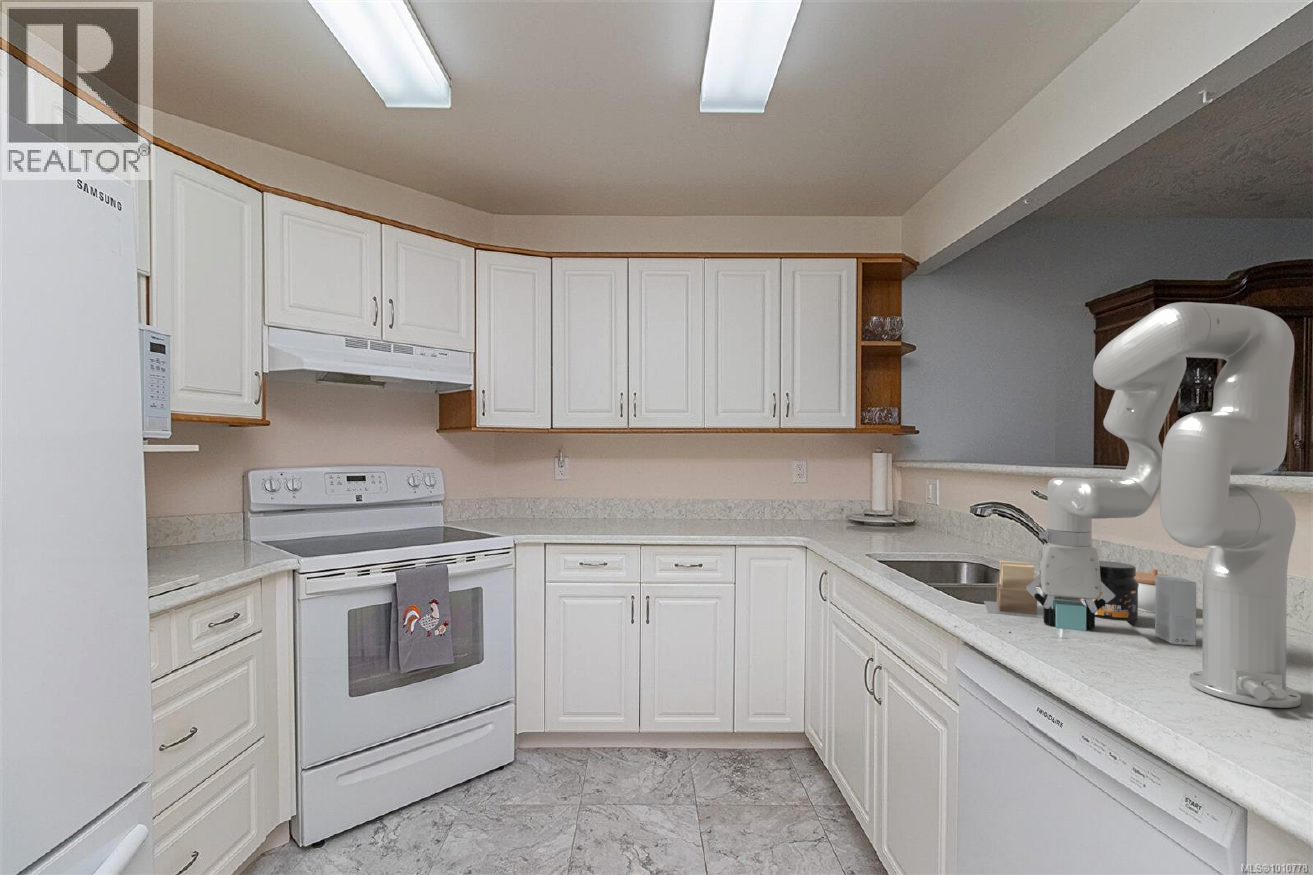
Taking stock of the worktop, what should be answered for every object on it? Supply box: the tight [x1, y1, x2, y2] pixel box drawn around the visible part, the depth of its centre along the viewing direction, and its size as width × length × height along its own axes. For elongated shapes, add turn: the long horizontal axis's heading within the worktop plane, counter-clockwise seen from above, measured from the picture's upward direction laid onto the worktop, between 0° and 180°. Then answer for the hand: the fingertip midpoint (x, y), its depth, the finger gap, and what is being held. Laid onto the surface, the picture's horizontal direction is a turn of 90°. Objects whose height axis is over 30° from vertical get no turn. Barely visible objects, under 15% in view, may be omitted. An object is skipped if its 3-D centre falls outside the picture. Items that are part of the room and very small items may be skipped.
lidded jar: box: [1134, 568, 1171, 614], centre depth 150 cm, size 11×11×9 cm
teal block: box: [1051, 598, 1087, 632], centre depth 131 cm, size 5×5×6 cm
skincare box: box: [1154, 575, 1197, 646], centre depth 127 cm, size 6×4×12 cm
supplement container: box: [1079, 560, 1139, 626], centre depth 142 cm, size 10×10×12 cm
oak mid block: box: [999, 560, 1035, 590], centre depth 145 cm, size 6×6×5 cm
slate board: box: [983, 600, 1044, 619], centre depth 145 cm, size 12×12×1 cm
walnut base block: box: [996, 581, 1038, 615], centre depth 145 cm, size 7×7×5 cm
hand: (1068, 628), depth 131 cm, fingers open, 5 cm apart
